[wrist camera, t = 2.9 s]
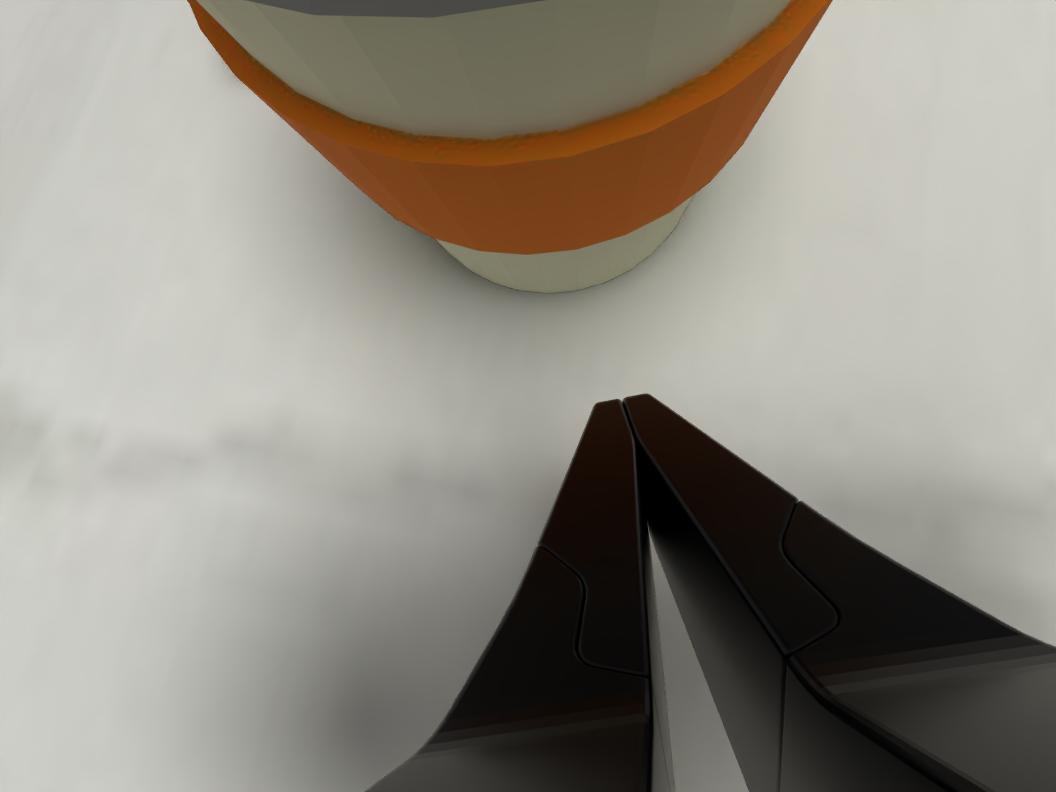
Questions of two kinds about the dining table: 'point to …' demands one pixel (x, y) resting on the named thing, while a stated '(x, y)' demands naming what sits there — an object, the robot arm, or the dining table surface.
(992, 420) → the dining table surface
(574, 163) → the reusable coffee cup
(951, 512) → the dining table surface
